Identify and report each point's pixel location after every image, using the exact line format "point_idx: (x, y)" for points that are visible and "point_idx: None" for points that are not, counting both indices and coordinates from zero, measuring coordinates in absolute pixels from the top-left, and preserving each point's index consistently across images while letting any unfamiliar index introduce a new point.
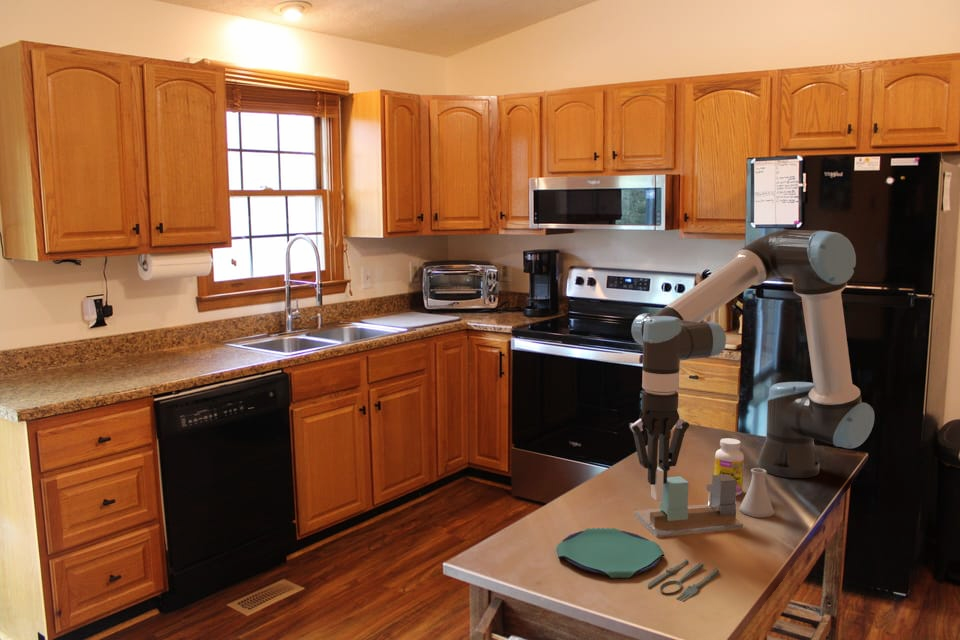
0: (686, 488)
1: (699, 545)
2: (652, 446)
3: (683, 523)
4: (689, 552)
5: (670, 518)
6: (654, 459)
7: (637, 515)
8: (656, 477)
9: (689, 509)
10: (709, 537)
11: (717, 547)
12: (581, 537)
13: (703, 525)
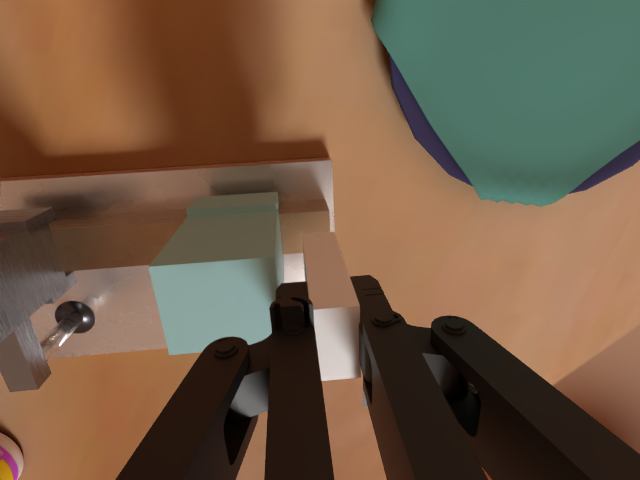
0: (171, 251)
1: (199, 62)
2: (483, 475)
3: None
4: (259, 4)
5: (270, 194)
6: (404, 364)
7: None
8: (351, 288)
9: None
10: (139, 127)
11: (134, 31)
12: (597, 152)
13: (139, 189)
